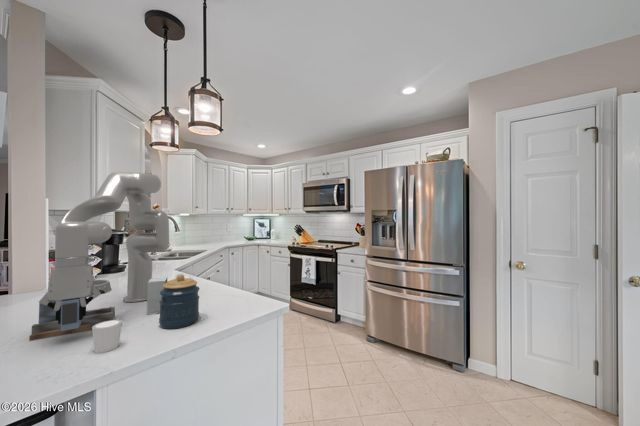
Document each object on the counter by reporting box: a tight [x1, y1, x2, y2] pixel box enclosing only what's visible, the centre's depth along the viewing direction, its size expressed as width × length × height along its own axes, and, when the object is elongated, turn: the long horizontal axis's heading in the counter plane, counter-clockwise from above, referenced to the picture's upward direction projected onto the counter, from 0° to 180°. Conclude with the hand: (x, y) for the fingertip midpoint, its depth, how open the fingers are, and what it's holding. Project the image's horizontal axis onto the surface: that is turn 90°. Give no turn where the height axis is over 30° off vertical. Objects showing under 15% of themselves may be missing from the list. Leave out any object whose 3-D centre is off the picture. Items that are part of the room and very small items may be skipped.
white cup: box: [91, 319, 123, 354], centre depth 75 cm, size 7×7×7 cm
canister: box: [158, 273, 200, 330], centre depth 94 cm, size 13×13×18 cm
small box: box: [146, 276, 168, 315], centre depth 106 cm, size 8×6×13 cm
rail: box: [28, 301, 116, 342], centre depth 90 cm, size 20×12×10 cm, turn 126°
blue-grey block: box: [61, 298, 81, 331], centre depth 79 cm, size 5×4×9 cm
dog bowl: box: [87, 279, 112, 298], centre depth 131 cm, size 17×18×5 cm
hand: (71, 319), depth 80 cm, fingers closed on blue-grey block, 4 cm apart
